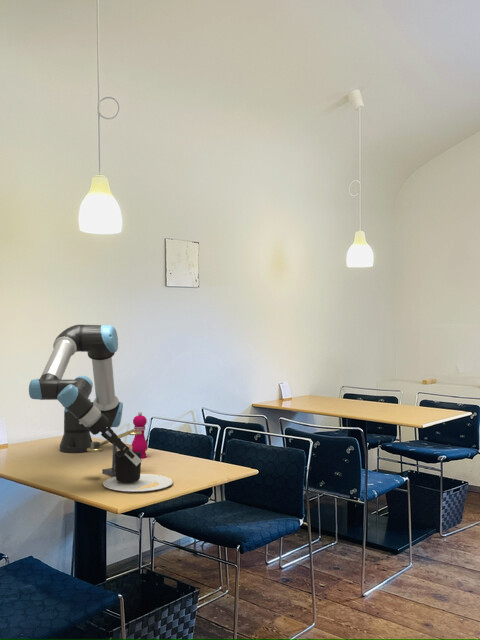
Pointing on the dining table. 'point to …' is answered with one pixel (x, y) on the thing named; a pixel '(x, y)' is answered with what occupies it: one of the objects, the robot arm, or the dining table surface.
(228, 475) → the dining table surface
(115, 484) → the plate
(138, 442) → the pepper mill
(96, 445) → the balance
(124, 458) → the pen holder
